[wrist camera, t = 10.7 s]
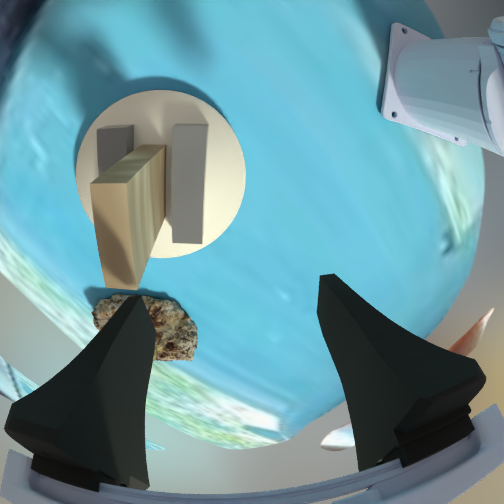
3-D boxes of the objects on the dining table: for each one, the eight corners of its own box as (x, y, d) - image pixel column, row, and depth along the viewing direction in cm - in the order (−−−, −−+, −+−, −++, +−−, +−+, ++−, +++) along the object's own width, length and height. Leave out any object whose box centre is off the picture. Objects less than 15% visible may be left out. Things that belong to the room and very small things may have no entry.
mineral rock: (215, 325, 23) (184, 389, 25) (212, 302, 27) (184, 362, 29) (95, 278, 20) (79, 351, 22) (109, 261, 24) (92, 328, 26)
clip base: (253, 93, 16) (257, 92, 14) (237, 254, 22) (238, 273, 20) (79, 97, 15) (61, 99, 12) (92, 247, 21) (80, 264, 19)
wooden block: (166, 144, 16) (126, 183, 10) (165, 216, 19) (137, 290, 12) (142, 144, 16) (89, 183, 9) (143, 215, 19) (106, 287, 12)
